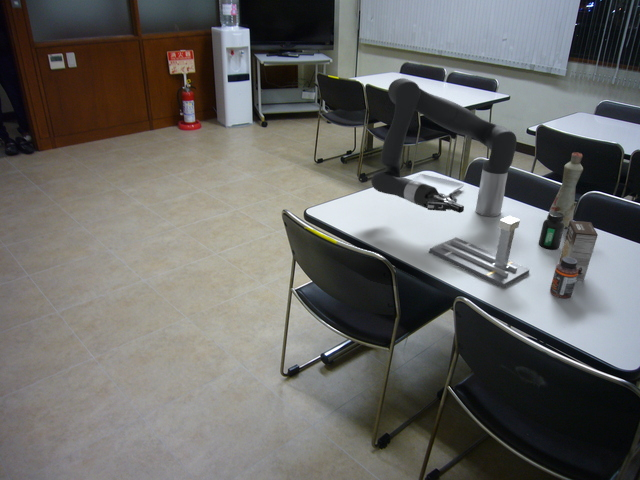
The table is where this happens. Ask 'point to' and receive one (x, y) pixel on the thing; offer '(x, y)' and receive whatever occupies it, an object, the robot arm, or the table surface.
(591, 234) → the coffee box
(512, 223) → the post
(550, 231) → the supplement bottle
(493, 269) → the slider rail base
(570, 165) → the bottle
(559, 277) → the supplement bottle
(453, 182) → the salad plate
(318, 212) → the table surface
